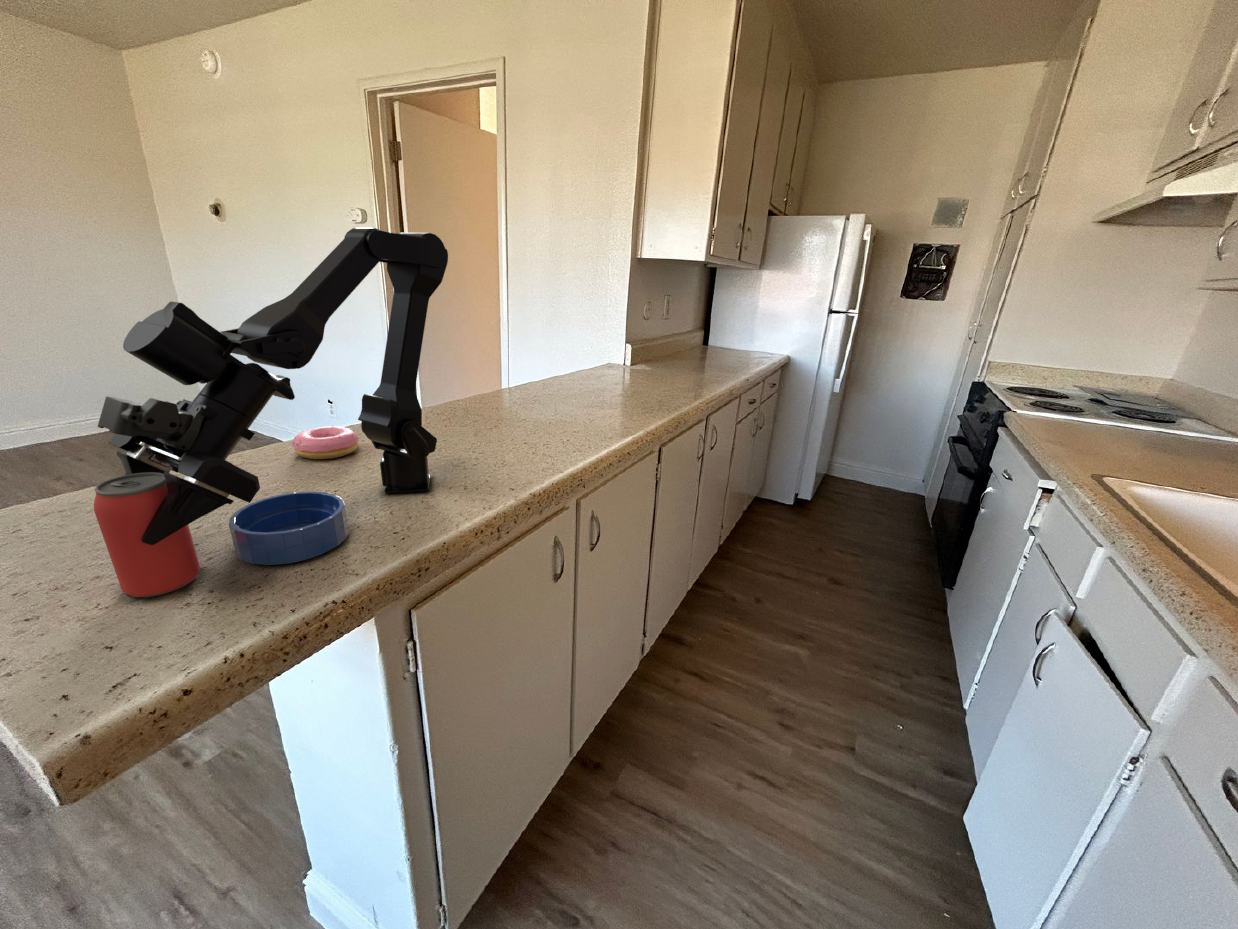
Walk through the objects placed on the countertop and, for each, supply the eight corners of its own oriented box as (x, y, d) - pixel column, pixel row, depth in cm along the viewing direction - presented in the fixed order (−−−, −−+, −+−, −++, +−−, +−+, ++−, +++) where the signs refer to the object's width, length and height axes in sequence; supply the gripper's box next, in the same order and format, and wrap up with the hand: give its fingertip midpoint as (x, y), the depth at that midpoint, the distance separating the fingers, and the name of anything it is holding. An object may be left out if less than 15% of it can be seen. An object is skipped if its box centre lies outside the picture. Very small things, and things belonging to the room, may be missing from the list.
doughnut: (352, 461, 93) (349, 439, 91) (284, 463, 90) (280, 440, 89) (365, 442, 103) (363, 422, 101) (305, 443, 100) (301, 423, 99)
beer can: (154, 566, 59) (123, 469, 54) (215, 566, 59) (189, 470, 55) (105, 600, 53) (66, 494, 48) (174, 600, 53) (141, 495, 49)
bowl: (356, 517, 72) (352, 488, 71) (337, 562, 61) (332, 529, 60) (257, 525, 69) (251, 494, 67) (219, 573, 58) (210, 538, 56)
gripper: (107, 354, 55) (-6, 481, 50) (199, 377, 47) (75, 531, 42) (208, 410, 64) (121, 522, 59) (298, 438, 56) (207, 569, 51)
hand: (130, 534), depth 52 cm, fingers closed on beer can, 6 cm apart
